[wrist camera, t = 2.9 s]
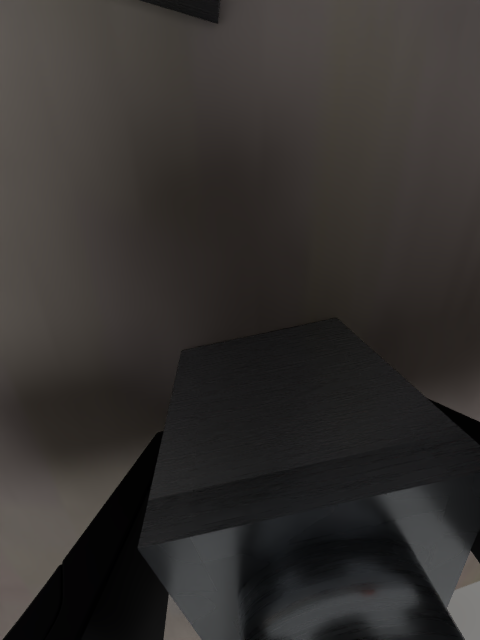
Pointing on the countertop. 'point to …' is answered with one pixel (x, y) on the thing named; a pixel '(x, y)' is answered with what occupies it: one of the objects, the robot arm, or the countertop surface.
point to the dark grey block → (309, 493)
